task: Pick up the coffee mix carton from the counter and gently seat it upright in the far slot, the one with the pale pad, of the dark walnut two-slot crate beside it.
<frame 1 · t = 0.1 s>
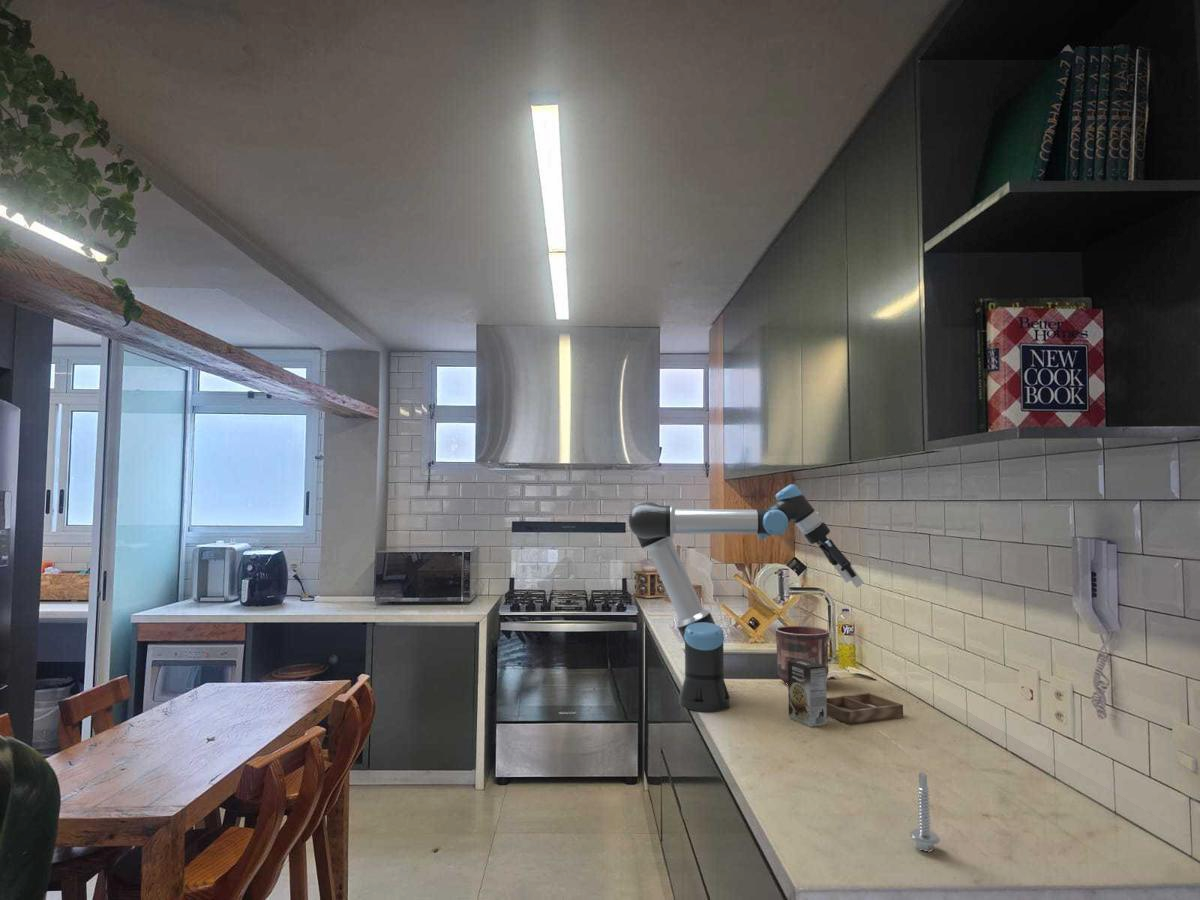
hand: (855, 582, 216), 36 cm above the counter, tool tilted 35°, fingers open, 13 cm apart
coffee box: (807, 722, 191), on the counter
walnut crate: (858, 714, 197), on the counter
pottery: (802, 684, 232), on the counter
screw: (925, 849, 120), on the counter
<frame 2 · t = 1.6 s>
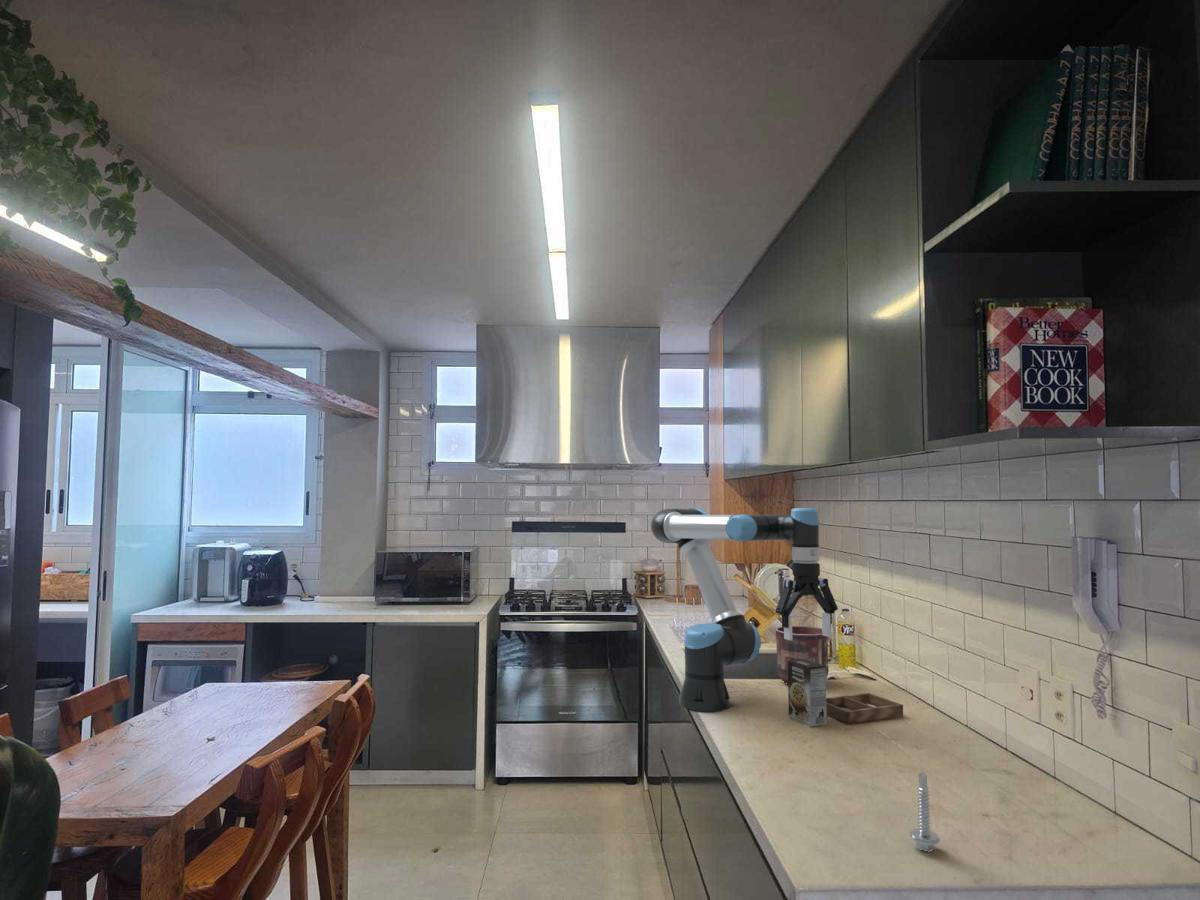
hand: (807, 637, 193), 23 cm above the counter, tool pointing down, fingers open, 13 cm apart
nothing on the counter moved.
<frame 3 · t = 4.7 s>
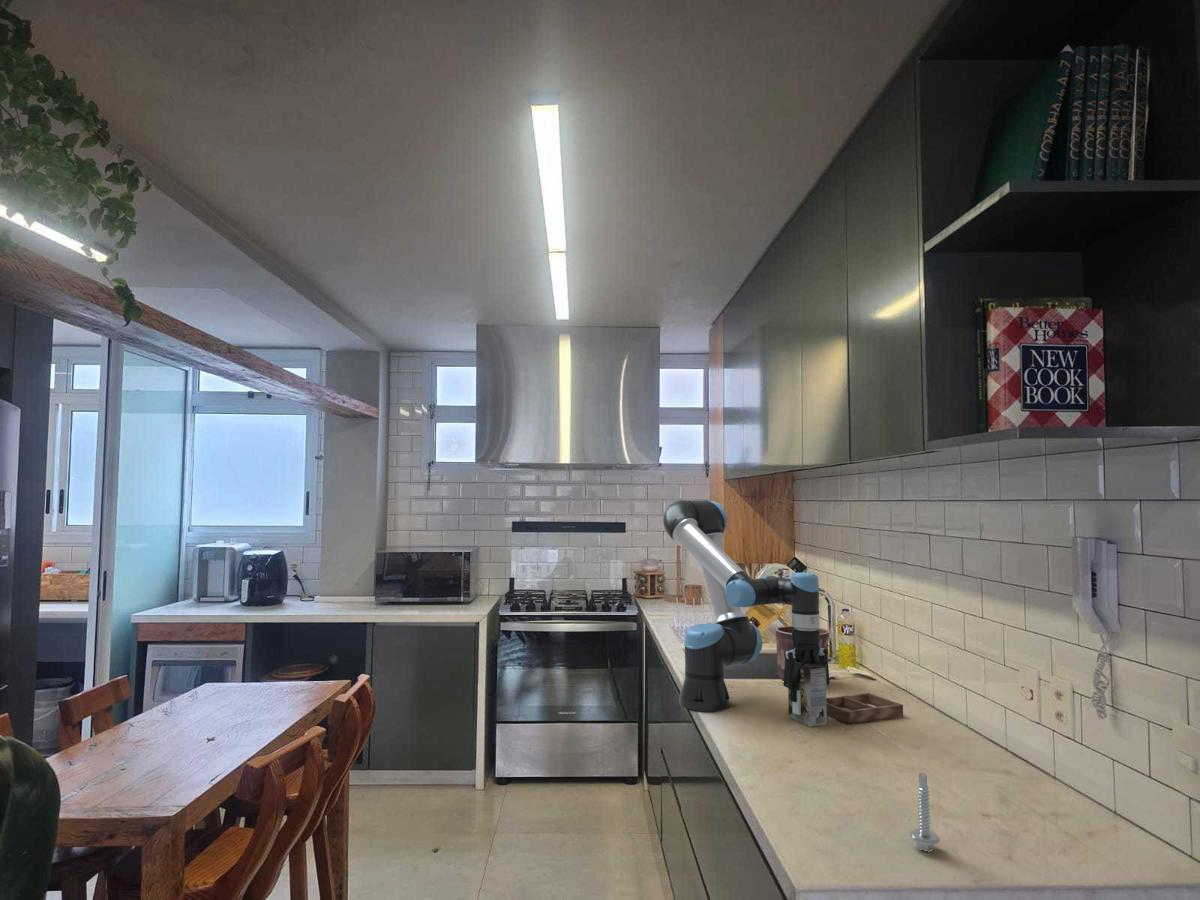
hand: (807, 712, 191), 3 cm above the counter, tool pointing down, fingers closed on coffee box, 7 cm apart
coffee box: (807, 722, 191), on the counter, touching gripper
everything else where it was.
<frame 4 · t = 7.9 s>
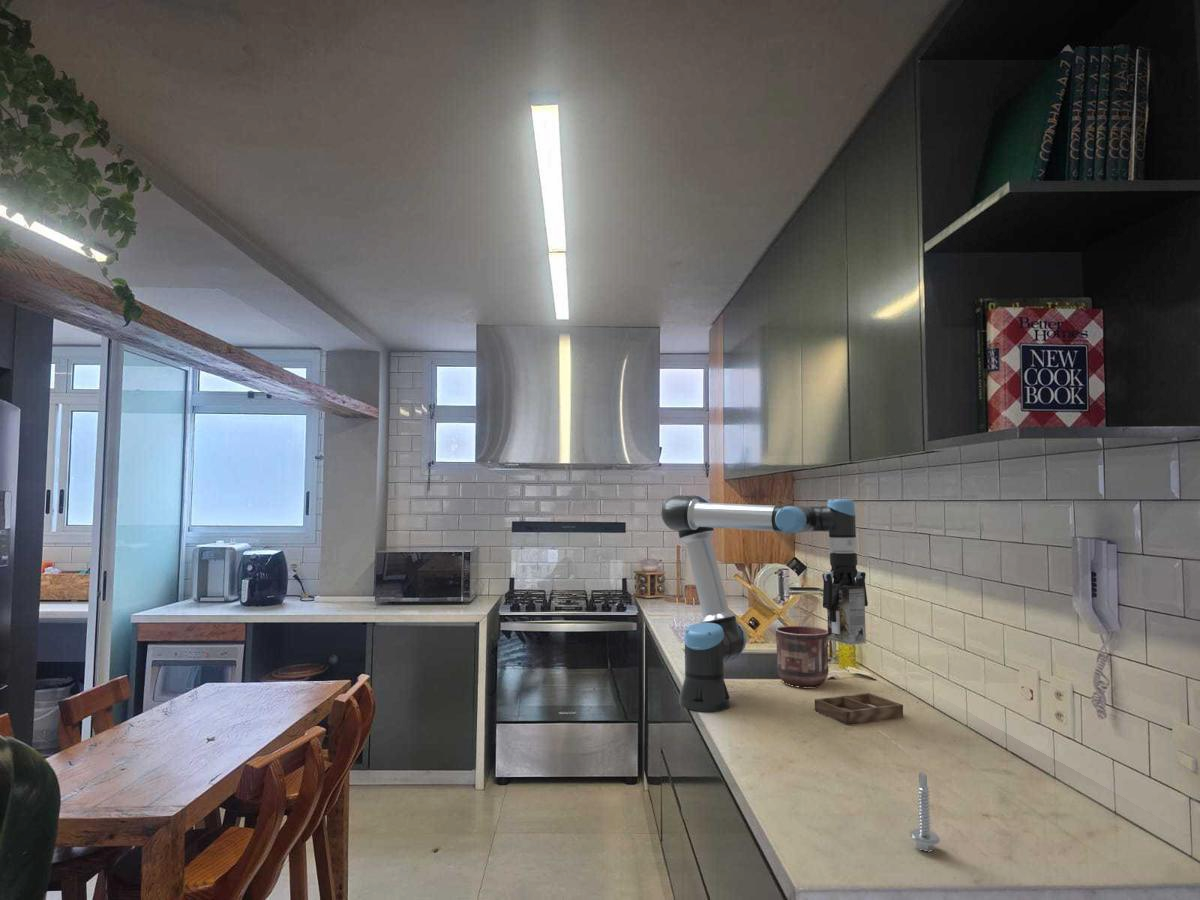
hand: (846, 632, 197), 24 cm above the counter, tool pointing down, fingers closed on coffee box, 7 cm apart
coffee box: (847, 642, 197), point 21 cm above the counter, touching gripper
everything else where it was.
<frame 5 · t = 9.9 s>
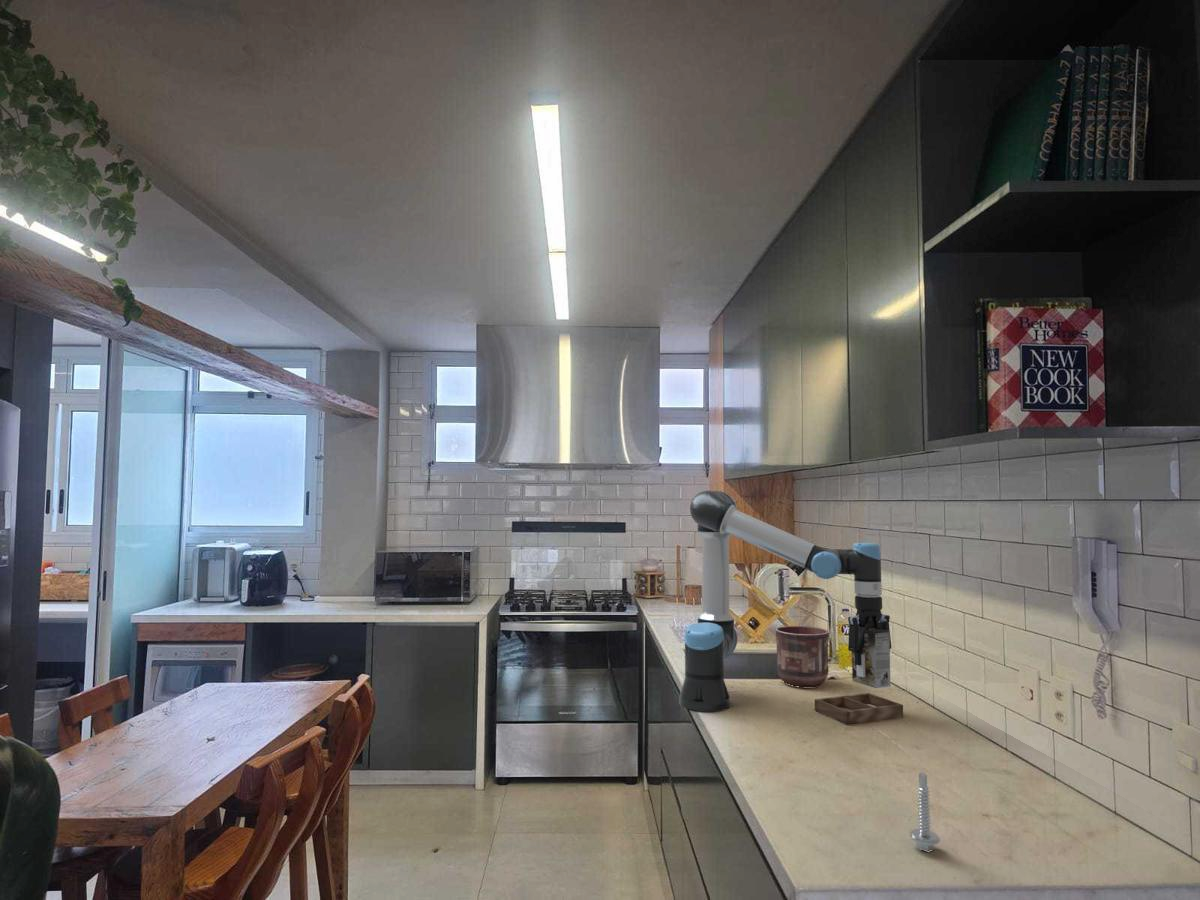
hand: (870, 675, 200), 11 cm above the counter, tool pointing down, fingers closed on coffee box, 7 cm apart
coffee box: (871, 684, 200), point 8 cm above the counter, touching gripper
everything else where it was.
when the fingers open (5 cm above the counter, at t = 11.5 s): coffee box drops 2 cm, resting on walnut crate.
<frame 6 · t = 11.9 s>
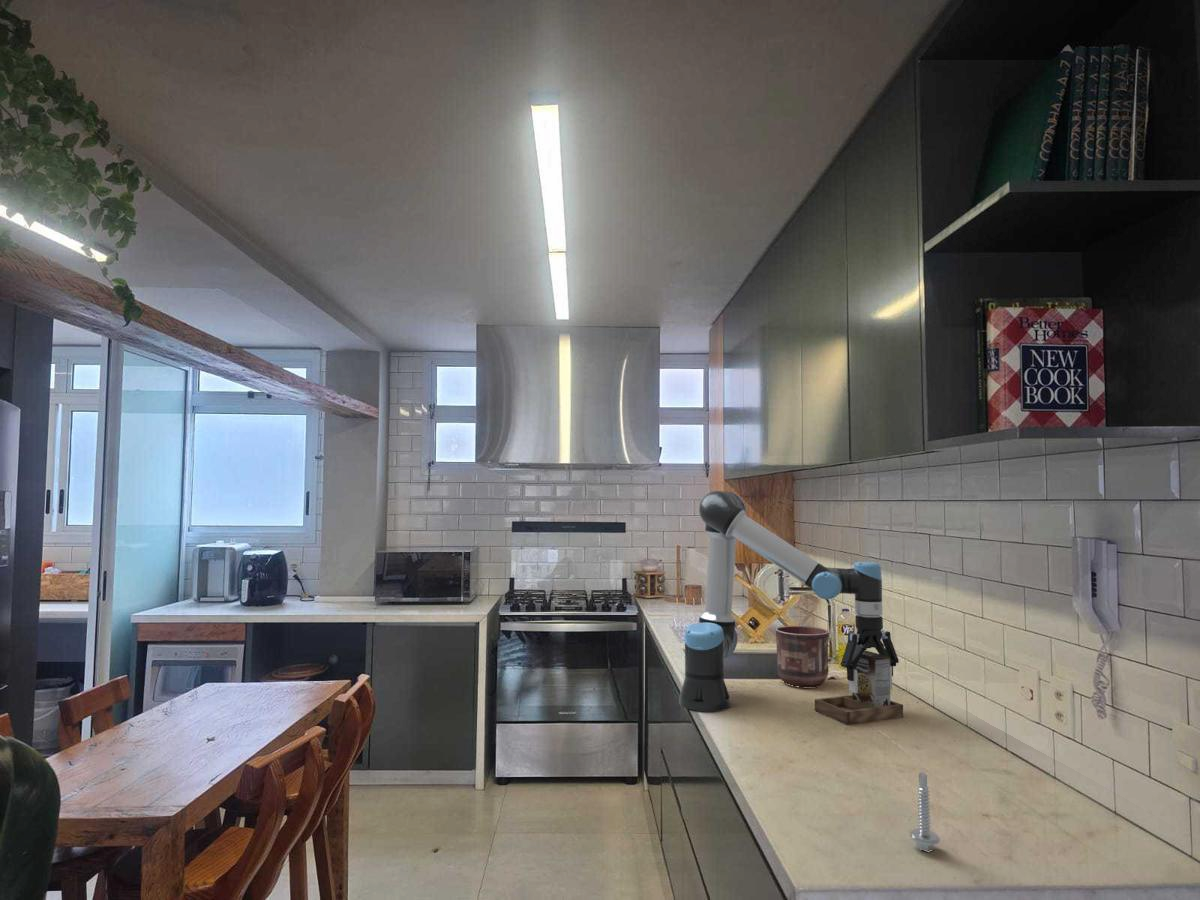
hand: (870, 690, 200), 6 cm above the counter, tool pointing down, fingers open, 12 cm apart
coffee box: (871, 710, 199), point 1 cm above the counter, touching walnut crate
everything else where it was.
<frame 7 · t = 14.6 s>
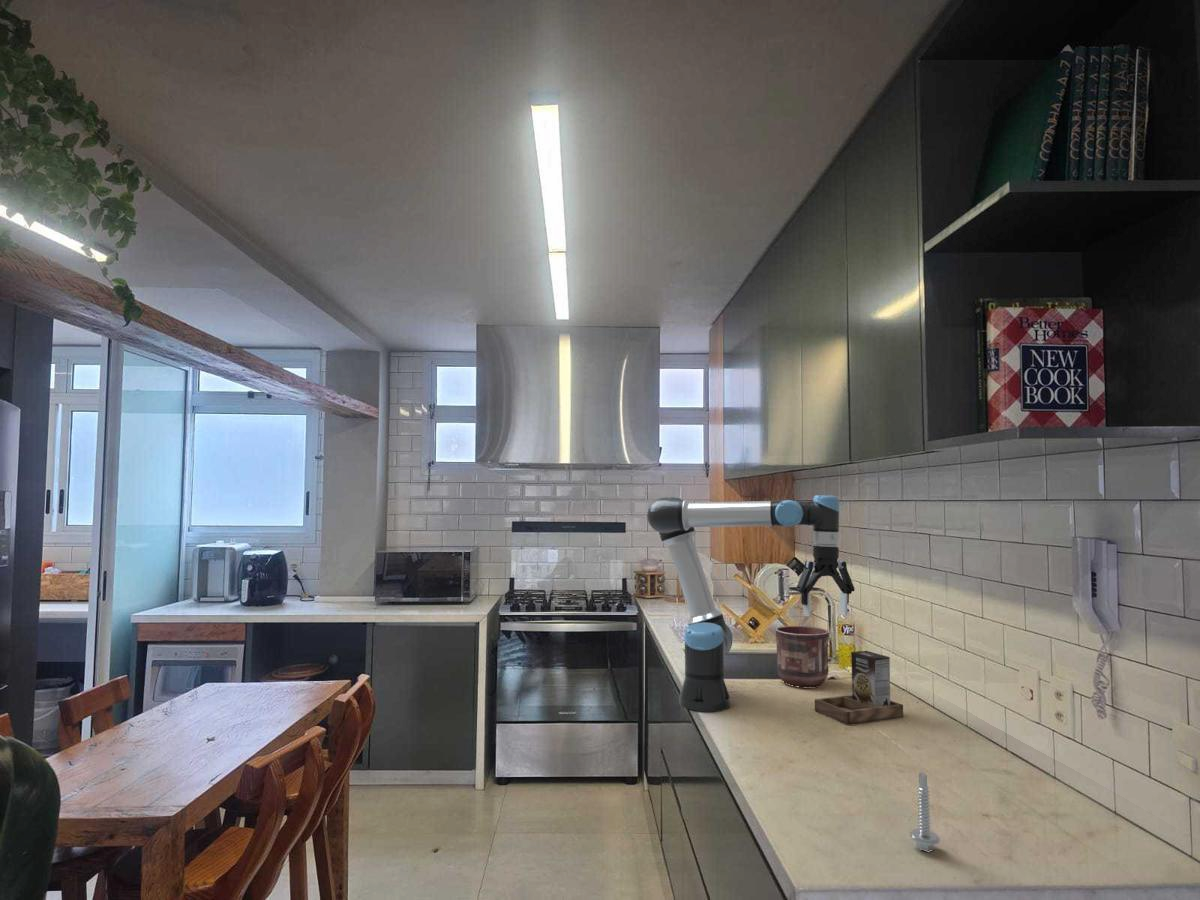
hand: (825, 615, 209), 27 cm above the counter, tool pointing down, fingers open, 13 cm apart
nothing on the counter moved.
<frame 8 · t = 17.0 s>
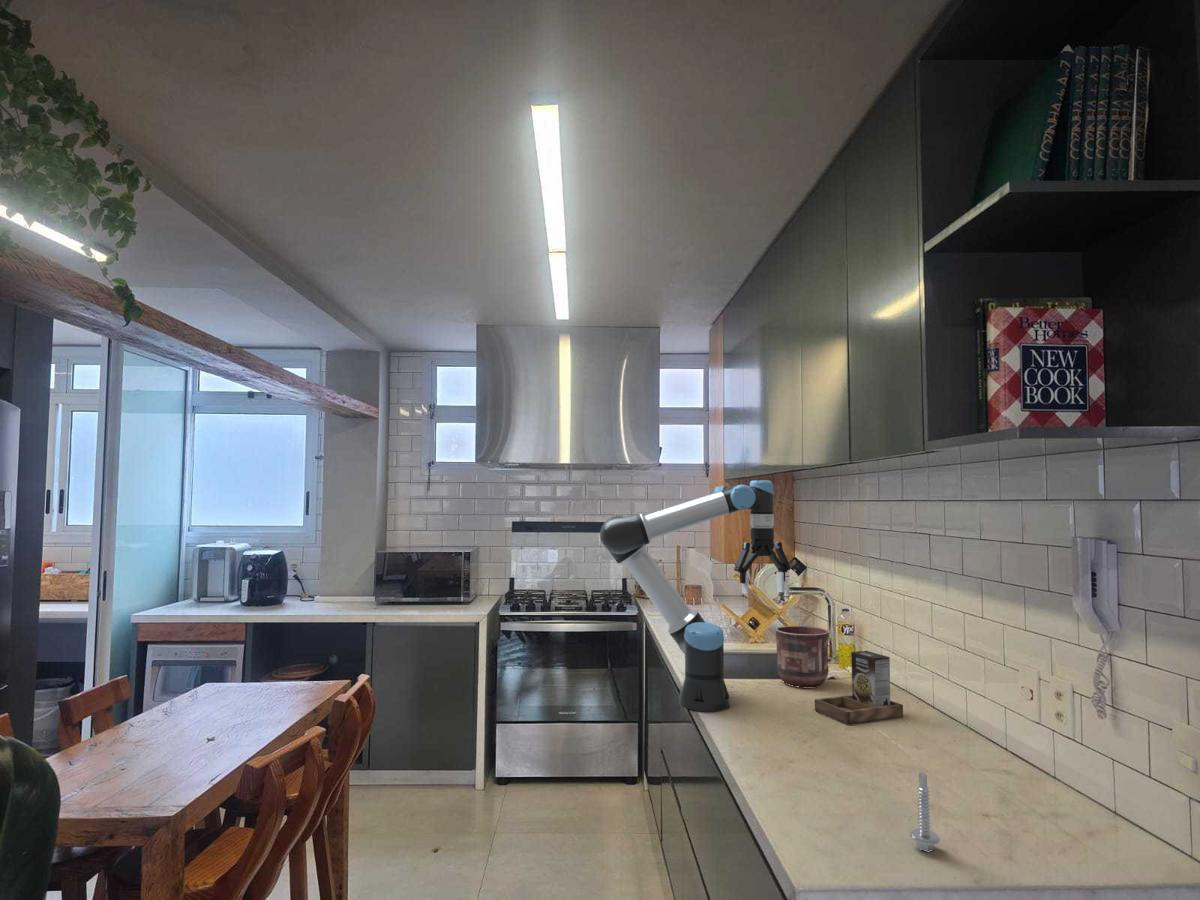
hand: (763, 593, 223), 32 cm above the counter, tool pointing down, fingers open, 13 cm apart
nothing on the counter moved.
at the end: coffee box 0.0 cm from the target spot on the walnut crate, point 0.5 cm above the walnut crate's base; coffee box tilted 0°; the gripper is holding nothing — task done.
